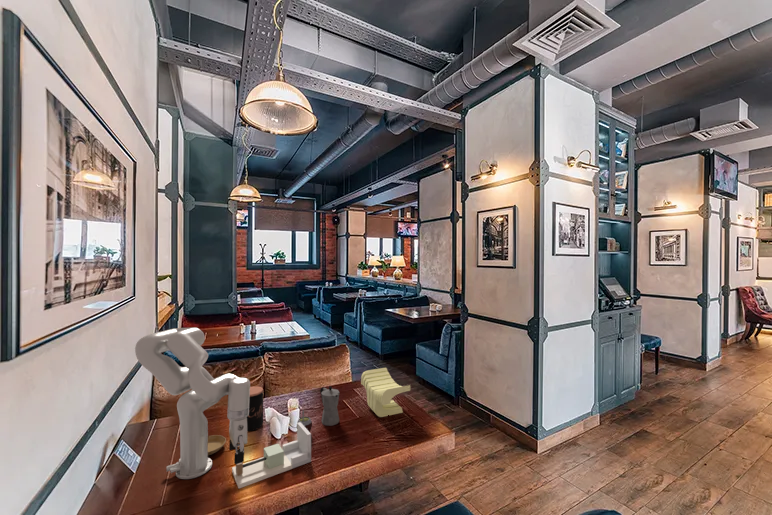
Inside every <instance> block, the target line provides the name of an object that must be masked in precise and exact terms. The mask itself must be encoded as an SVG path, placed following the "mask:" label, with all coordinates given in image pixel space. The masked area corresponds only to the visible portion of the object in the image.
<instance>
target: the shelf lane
mask: <svg viewBox="0 0 772 515" xmlns="http://www.w3.org/2000/svg"><path fill="white" fill-rule="evenodd" d="M296 435H297V436H296V437H297V439H296V440H293V441H290V442H287V443H284V444H282V447H281V448H282V449H283V451H284V464H282V465H279V466H276V467H273V468H271V469H268V467H267V465H266V464H265V462H264V461H261V462H259V463H256V464H253V465H250V466H247V467H244V468H243V474H241V475H238V476H237V474H236V465H235V466H233V467H231V472H232V475H233V478H234V481H235V483H236V485H237V488H238V489H242V488H244V487H247V486H250V485H253V484H254V483H258V482H260V481H264V480H265V479H268V478H271V477H274V476H276V475H278V474H282V473H284V472H287V471H290V470H292V469H295V468H298V467H300V466H303V465H305V464H309V463H311V462H312V433H311V431H310V432H309V431H308V430H307V429H306V428H305V427H304V425H303V424H302V423H301V422H299V423H297V422H296ZM262 458H264V456H263V457H258V458H256V459H254V460H250V461H248V462H245V463H244V462H243V465H244V464H247V463H250V462H253V461H256V460H259V459H262Z"/></svg>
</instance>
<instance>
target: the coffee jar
mask: <svg viewBox="0 0 772 515" xmlns="http://www.w3.org/2000/svg"><path fill="white" fill-rule="evenodd" d="M263 424H264V389H263V387H262V386H257V385H256V386H254V385H253V386H250V398H249V415H248V416H247V432H253V431H257V430H259V429H260V428H261V427H262V425H263Z"/></svg>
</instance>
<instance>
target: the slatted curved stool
mask: <svg viewBox="0 0 772 515" xmlns="http://www.w3.org/2000/svg"><path fill="white" fill-rule="evenodd" d="M360 379H361V380H360V383H361V385H363V387H364V389H365V391H366V401H367V406H368V407H369V408H370V410H372V412H374V413H375V415H376V416H377V417H378V418H383V417H388V415H389V416H392V415H398V414H403V412H404V411H403V408H402V406H400V405H399V404H398V403H397V402H396V401H394V399H393V398H394V397H395V396H397V395H398V394H402V393H405V392H410V391H411V384H409V385H403V386H402V385H399V384H398V383H397V382H396V381H395V380H394V379H393V378H392V376H391V374H390V372H389V370H388V368H387V367H382V368H375V369H374V368H373V369H368V370H367V369H366V370H365V371H363V372H362V374H361V377H360Z"/></svg>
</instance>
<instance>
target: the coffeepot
mask: <svg viewBox="0 0 772 515" xmlns="http://www.w3.org/2000/svg"><path fill="white" fill-rule="evenodd" d="M319 391H320V397H321V402H322V405H323V408H322V409H323V410H322V415H321V424H322V425H324V426H327V427H329V426H330V427H332V426H335V425H338V424H339V422H340V417H339V416H340V415H339V411H338V405H339V397H340V391H339V389H336V388H333V387H332V386H328V388H327V387H324V386H323V387H321V388H320V390H319Z"/></svg>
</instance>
